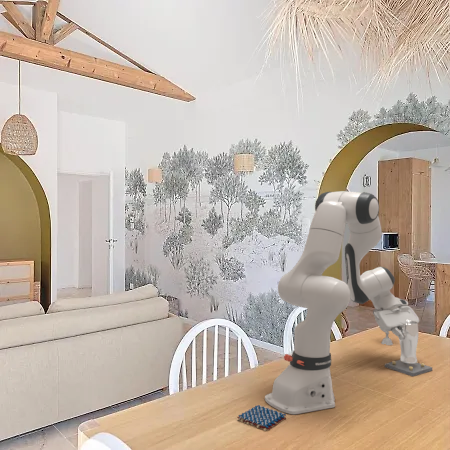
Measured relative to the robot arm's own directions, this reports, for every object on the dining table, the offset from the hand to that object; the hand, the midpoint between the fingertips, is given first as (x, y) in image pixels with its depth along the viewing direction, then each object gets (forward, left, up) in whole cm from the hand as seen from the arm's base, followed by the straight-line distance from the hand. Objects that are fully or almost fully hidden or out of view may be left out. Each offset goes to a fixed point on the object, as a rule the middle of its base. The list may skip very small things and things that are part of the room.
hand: (409, 337), depth 166 cm
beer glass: (0, +1, -9) cm, 10 cm away
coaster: (0, +1, -12) cm, 12 cm away
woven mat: (-73, -3, -13) cm, 74 cm away
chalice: (+22, +27, -12) cm, 37 cm away
